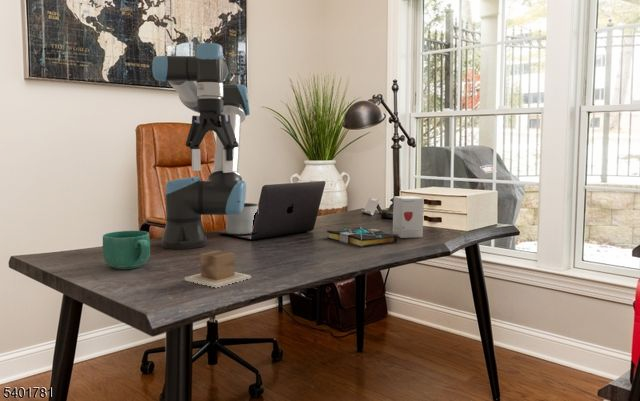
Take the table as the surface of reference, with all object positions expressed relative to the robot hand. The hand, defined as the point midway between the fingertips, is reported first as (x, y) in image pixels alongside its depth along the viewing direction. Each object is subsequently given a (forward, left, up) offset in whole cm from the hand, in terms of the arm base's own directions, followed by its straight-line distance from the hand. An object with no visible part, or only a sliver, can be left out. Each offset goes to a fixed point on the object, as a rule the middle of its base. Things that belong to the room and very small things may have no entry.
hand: (211, 171), depth 158 cm
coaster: (+18, -14, -27) cm, 35 cm away
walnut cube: (+18, -14, -26) cm, 35 cm away
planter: (-29, +40, -27) cm, 56 cm away
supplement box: (+25, +75, -27) cm, 84 cm away
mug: (-11, -21, -27) cm, 36 cm away
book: (+16, +56, -27) cm, 65 cm away
